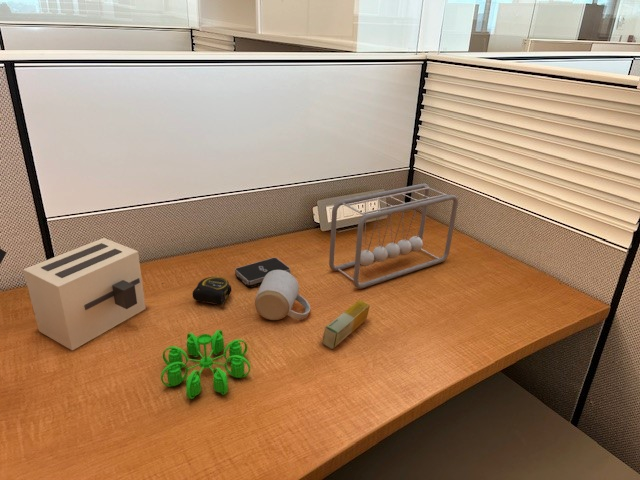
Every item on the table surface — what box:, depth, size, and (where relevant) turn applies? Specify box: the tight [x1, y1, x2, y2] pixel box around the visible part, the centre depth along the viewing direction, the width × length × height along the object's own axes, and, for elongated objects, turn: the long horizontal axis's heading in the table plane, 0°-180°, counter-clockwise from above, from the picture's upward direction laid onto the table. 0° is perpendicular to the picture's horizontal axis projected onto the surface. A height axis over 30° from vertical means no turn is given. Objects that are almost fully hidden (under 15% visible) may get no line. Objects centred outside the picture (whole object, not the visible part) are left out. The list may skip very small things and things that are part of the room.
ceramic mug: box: [254, 270, 311, 321], centre depth 95 cm, size 11×8×8 cm
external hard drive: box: [234, 257, 291, 288], centre depth 109 cm, size 7×11×2 cm, turn 126°
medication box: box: [321, 299, 371, 350], centre depth 91 cm, size 12×3×4 cm, turn 144°
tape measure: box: [192, 276, 232, 306], centre depth 100 cm, size 7×7×4 cm
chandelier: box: [160, 329, 251, 400], centre depth 79 cm, size 15×15×7 cm
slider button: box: [112, 280, 137, 309], centre depth 88 cm, size 3×2×4 cm
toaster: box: [23, 237, 146, 351], centre depth 89 cm, size 10×16×13 cm, turn 149°
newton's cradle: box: [328, 183, 459, 290], centre depth 113 cm, size 30×10×18 cm, turn 124°
